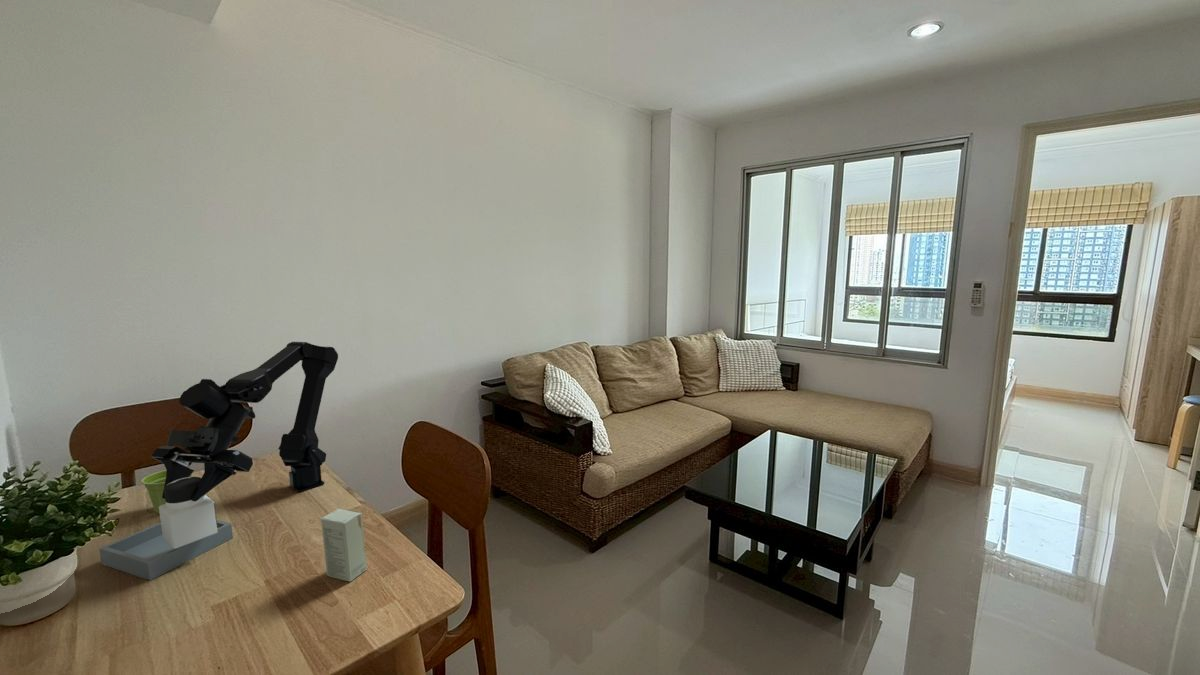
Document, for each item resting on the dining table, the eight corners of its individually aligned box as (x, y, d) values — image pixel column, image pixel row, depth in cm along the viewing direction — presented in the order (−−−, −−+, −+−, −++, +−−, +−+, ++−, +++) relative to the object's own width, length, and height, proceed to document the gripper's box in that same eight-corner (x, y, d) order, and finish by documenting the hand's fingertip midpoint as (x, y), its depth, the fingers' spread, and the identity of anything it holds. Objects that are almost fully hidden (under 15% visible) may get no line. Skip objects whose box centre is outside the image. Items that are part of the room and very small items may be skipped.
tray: (187, 525, 108) (185, 511, 107) (232, 538, 103) (231, 523, 102) (101, 564, 93) (99, 548, 93) (150, 580, 89) (147, 563, 88)
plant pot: (156, 503, 118) (152, 470, 116) (203, 496, 121) (199, 465, 120) (137, 521, 109) (132, 486, 108) (188, 513, 113) (184, 479, 112)
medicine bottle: (218, 533, 97) (211, 479, 95) (173, 550, 91) (165, 492, 89) (206, 522, 101) (199, 470, 99) (162, 538, 95) (154, 483, 93)
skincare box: (368, 569, 93) (364, 512, 91) (350, 583, 89) (345, 523, 87) (343, 562, 95) (339, 506, 93) (324, 575, 91) (320, 517, 89)
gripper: (153, 409, 97) (100, 483, 88) (234, 413, 95) (188, 489, 86) (195, 432, 106) (150, 501, 97) (270, 436, 104) (231, 507, 95)
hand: (178, 499), depth 93 cm, fingers closed on medicine bottle, 6 cm apart
